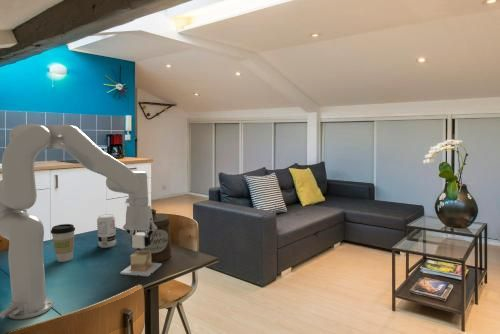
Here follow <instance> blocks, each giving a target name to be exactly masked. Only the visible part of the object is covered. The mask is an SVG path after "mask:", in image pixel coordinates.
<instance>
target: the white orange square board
mask: <svg viewBox="0 0 500 334" xmlns="http://www.w3.org/2000/svg"><path fill="white" fill-rule="evenodd" d="M162 264H163V263H162V262H161V263H159V262H152V265H151V266H150V267H149V268H147V269H146V270H145V271H142V270H131V264H130V265H129V266H127V267H126V268H124V269H123V270H122V271H120V275H128V276H138V275H139V277H140V276H141V277H149V276H151V275H152V274H153V273H154V272H155V271H156V270H158V269H159V268H160V267H162V266H163V265H162ZM151 273H152V274H151Z"/></svg>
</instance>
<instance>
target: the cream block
mask: <svg viewBox="0 0 500 334" xmlns="http://www.w3.org/2000/svg"><path fill="white" fill-rule="evenodd" d="M144 238H145V233H144V232H137V231H136V234H134V235H132V243H131V246H132V249H137V248H145V240H144Z"/></svg>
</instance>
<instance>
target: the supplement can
mask: <svg viewBox="0 0 500 334" xmlns="http://www.w3.org/2000/svg"><path fill="white" fill-rule="evenodd" d="M96 225H97V241H98V242H97V243H98V245H97V246H99V248H103V249H104V248H105V249H106V248H113V247H115V246H116V244H117V234H116V233H117V232H116V217H115V216H114V214H111V213H110V214H101V215H98V216H97V219H96Z"/></svg>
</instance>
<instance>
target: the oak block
mask: <svg viewBox="0 0 500 334" xmlns="http://www.w3.org/2000/svg"><path fill="white" fill-rule="evenodd" d="M129 255H130V265H131V270H142V271H145V270H146V269H147V268H149V267H150V266H151V265H152V263H153V262H151V251H139V250H138V251H137V250H136V251H135V252H133V253H132V254H129Z"/></svg>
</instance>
